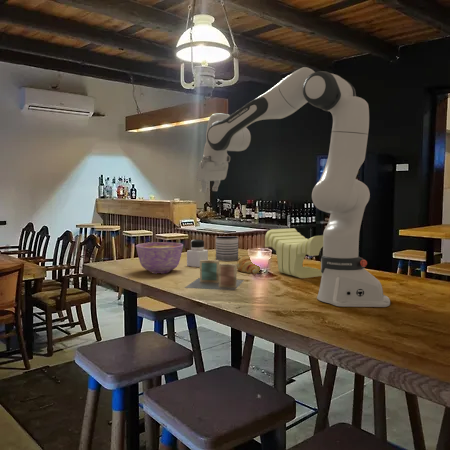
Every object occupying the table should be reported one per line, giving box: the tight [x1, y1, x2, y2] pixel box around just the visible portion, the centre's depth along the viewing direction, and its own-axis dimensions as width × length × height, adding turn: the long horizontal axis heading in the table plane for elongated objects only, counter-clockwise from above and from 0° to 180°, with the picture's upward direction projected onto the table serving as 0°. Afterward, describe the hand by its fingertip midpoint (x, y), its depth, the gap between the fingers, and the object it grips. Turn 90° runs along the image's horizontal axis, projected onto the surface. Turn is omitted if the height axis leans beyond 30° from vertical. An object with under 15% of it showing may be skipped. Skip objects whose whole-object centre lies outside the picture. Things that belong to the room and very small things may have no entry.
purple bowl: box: [135, 241, 184, 274], centre depth 198 cm, size 20×20×12 cm
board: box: [184, 277, 245, 291], centre depth 170 cm, size 18×18×1 cm
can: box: [215, 235, 239, 262], centre depth 233 cm, size 11×11×12 cm
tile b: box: [219, 263, 238, 289], centre depth 165 cm, size 6×2×8 cm, turn 77°
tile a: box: [199, 259, 220, 283], centre depth 174 cm, size 7×2×8 cm, turn 77°
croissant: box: [236, 255, 261, 275], centre depth 201 cm, size 21×10×8 cm, turn 19°
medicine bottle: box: [186, 239, 209, 268], centre depth 214 cm, size 7×7×12 cm
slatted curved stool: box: [264, 228, 323, 279], centre depth 192 cm, size 30×16×18 cm, turn 29°
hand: (209, 191), depth 181 cm, fingers open, 8 cm apart
